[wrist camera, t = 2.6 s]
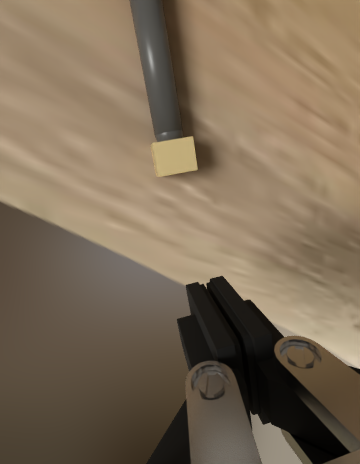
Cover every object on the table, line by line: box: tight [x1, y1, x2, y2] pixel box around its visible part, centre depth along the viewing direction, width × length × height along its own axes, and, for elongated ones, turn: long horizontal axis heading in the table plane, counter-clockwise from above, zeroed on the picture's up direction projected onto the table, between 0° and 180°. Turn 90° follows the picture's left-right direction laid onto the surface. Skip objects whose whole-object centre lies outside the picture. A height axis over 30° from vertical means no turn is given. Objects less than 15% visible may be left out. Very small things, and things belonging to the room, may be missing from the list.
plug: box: [130, 0, 198, 177], centre depth 12 cm, size 4×16×4 cm, turn 10°
